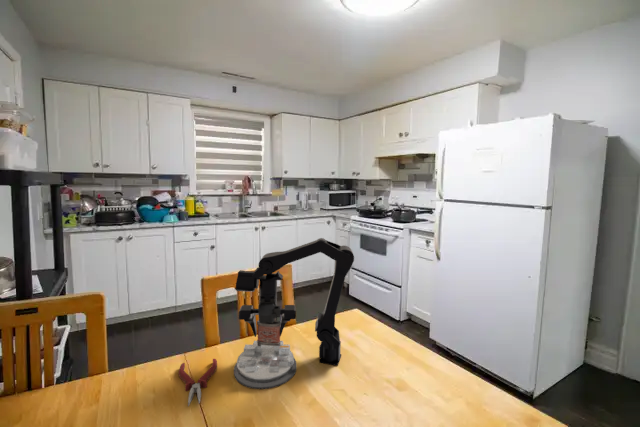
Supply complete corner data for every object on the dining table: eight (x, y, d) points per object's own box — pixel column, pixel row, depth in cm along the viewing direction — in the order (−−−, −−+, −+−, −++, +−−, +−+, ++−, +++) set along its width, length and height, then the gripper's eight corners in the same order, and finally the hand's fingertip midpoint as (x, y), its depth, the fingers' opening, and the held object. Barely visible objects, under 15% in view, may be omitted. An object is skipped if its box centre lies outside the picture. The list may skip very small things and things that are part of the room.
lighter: (281, 341, 109) (281, 313, 108) (279, 346, 106) (278, 318, 105) (259, 339, 110) (258, 311, 109) (255, 344, 107) (255, 316, 106)
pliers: (170, 413, 84) (170, 404, 83) (180, 369, 103) (180, 361, 103) (216, 404, 87) (216, 396, 87) (217, 363, 106) (217, 356, 106)
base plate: (304, 356, 110) (304, 353, 110) (283, 394, 91) (283, 390, 91) (251, 348, 115) (251, 345, 115) (221, 382, 96) (221, 378, 96)
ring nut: (295, 349, 112) (295, 338, 111) (291, 382, 94) (292, 369, 94) (243, 349, 111) (243, 338, 111) (230, 382, 94) (230, 369, 93)
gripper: (235, 301, 97) (235, 349, 99) (296, 300, 99) (295, 348, 101) (241, 288, 108) (241, 332, 110) (296, 288, 110) (295, 331, 112)
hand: (267, 336), depth 108 cm, fingers closed on lighter, 8 cm apart
